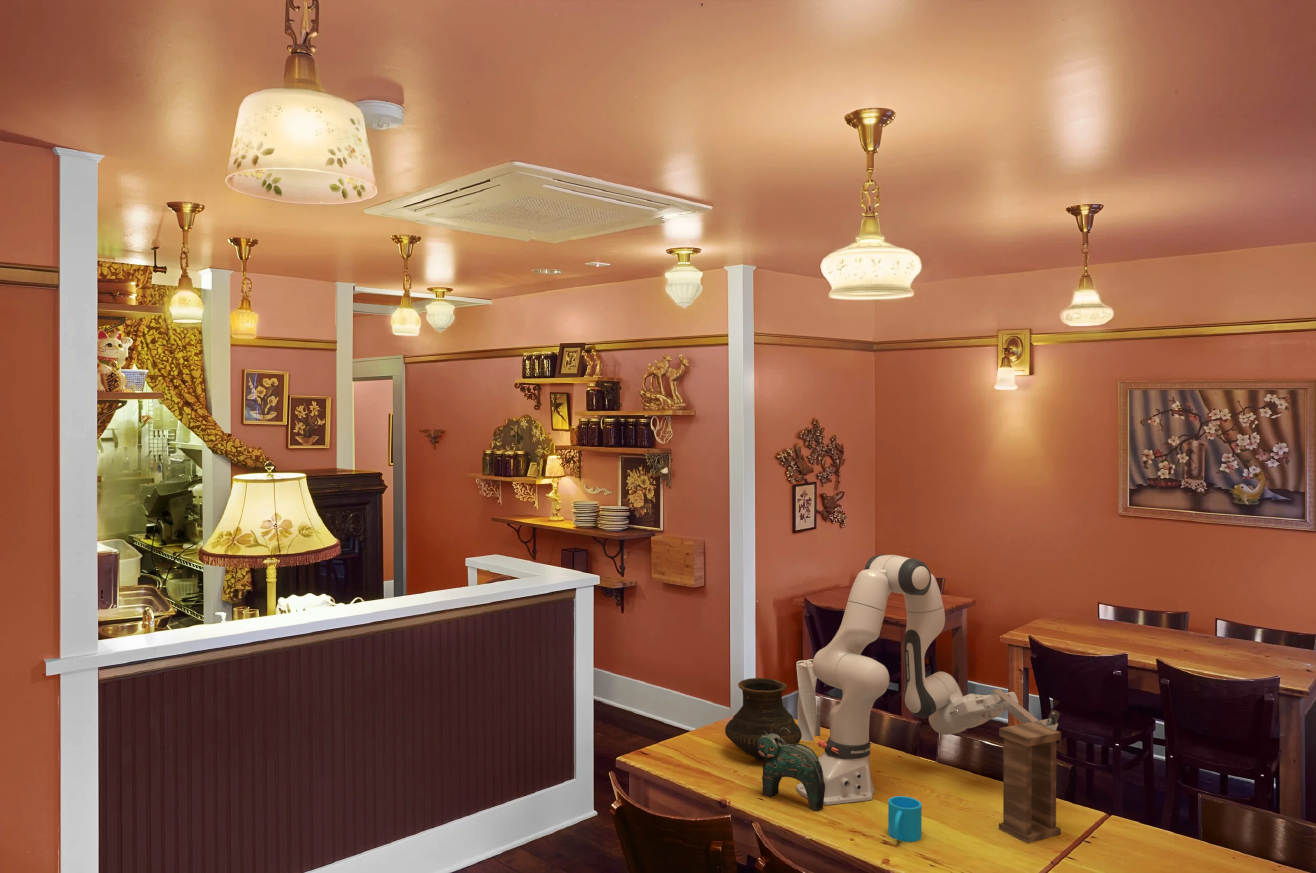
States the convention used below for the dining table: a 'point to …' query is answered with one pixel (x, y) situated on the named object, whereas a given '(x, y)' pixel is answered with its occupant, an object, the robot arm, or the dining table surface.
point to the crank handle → (1022, 713)
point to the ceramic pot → (761, 716)
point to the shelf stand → (1029, 782)
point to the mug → (905, 819)
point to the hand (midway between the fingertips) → (1005, 697)
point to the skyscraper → (807, 701)
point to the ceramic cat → (791, 767)
